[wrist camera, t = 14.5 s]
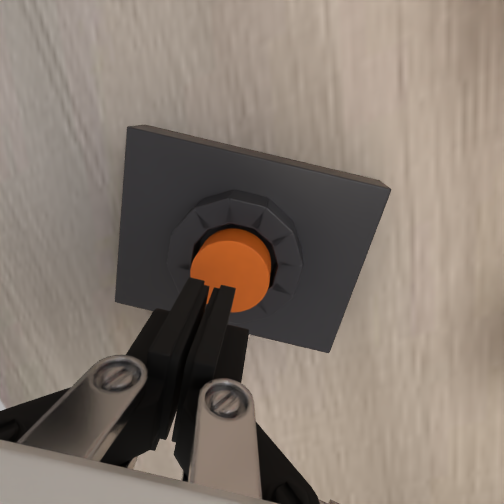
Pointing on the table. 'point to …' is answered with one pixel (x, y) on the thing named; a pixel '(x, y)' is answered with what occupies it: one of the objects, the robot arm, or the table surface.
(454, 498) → the table surface
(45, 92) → the table surface
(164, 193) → the button block
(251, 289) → the button
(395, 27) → the table surface
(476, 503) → the table surface
